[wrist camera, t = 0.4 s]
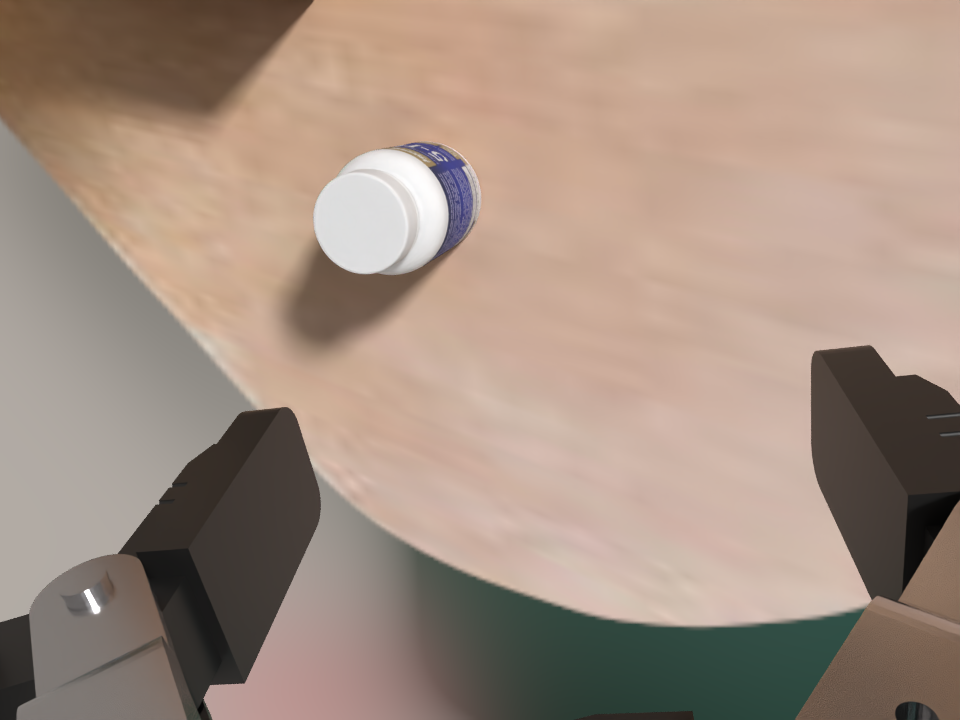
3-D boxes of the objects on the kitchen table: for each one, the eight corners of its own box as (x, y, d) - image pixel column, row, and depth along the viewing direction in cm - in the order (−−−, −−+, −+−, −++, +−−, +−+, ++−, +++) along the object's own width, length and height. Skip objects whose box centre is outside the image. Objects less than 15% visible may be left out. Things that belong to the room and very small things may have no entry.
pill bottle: (472, 131, 37) (411, 143, 29) (491, 241, 39) (438, 282, 31) (368, 150, 39) (283, 166, 31) (391, 256, 40) (314, 298, 32)
